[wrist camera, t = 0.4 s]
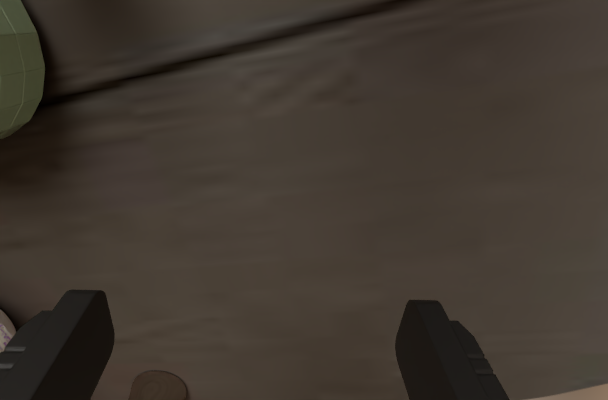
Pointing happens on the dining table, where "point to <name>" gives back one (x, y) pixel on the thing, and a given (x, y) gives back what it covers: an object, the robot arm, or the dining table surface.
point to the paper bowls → (5, 330)
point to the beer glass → (157, 387)
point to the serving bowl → (18, 67)
